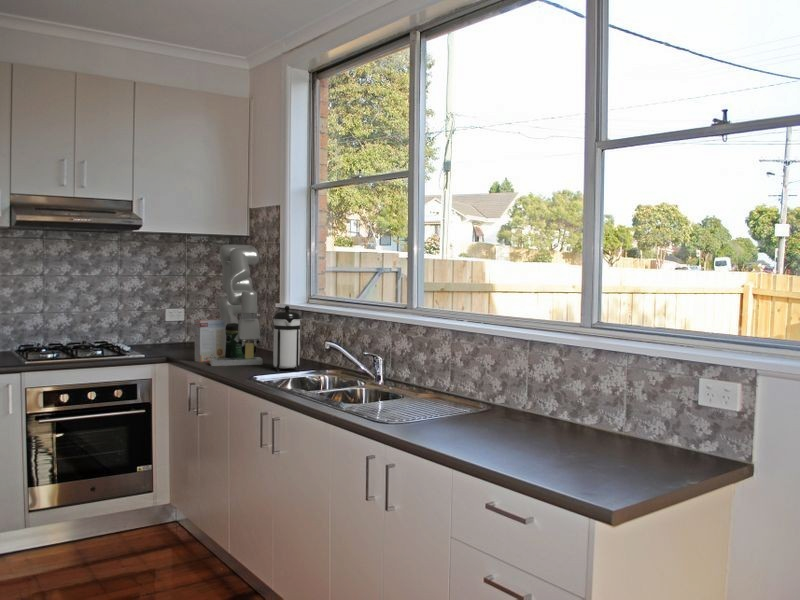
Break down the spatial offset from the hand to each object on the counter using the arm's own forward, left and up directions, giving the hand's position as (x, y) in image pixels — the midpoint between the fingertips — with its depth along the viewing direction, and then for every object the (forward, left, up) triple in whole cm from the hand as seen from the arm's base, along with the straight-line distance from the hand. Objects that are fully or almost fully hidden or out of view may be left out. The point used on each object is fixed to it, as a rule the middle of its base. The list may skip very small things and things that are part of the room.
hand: (248, 353), depth 351 cm
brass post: (0, 0, -3) cm, 3 cm away
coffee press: (+19, +14, -6) cm, 24 cm away
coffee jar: (-21, -4, -6) cm, 22 cm away
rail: (0, -6, -5) cm, 8 cm away
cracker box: (-15, -17, -6) cm, 23 cm away
